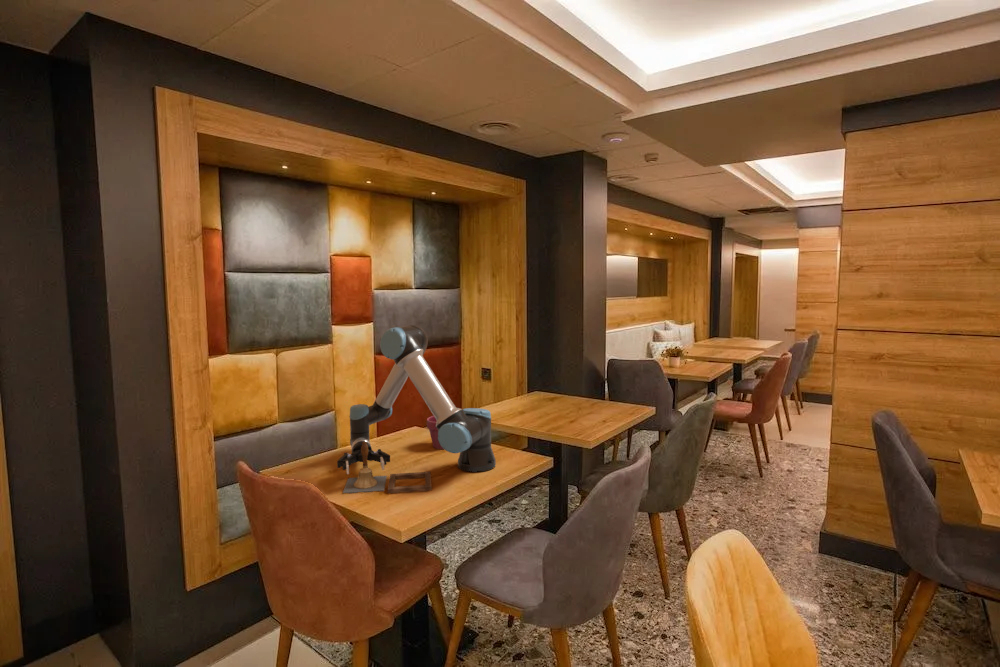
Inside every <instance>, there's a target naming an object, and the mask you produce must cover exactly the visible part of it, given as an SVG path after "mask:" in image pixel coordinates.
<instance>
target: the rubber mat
mask: <svg viewBox="0 0 1000 667" xmlns="http://www.w3.org/2000/svg"><path fill="white" fill-rule="evenodd" d="M387 477H388V476H387V475H380V476H379V475H378V476H377V475H376V476H375V475H373V478H374V479H375V480H376V481H377V485H376V486H374V487H371V488H367V489H359V488H356V487H354V483H355V482H356V481H357V479H358V476H357V477H348V478H347V481H346V483H345V486H344V489H343V491H342V494H343V493H349V494H359V493H358V492H364V493H374V492H373V491H379V492H384V491H385V489H386V488H385V487H386V482H387Z"/></svg>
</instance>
